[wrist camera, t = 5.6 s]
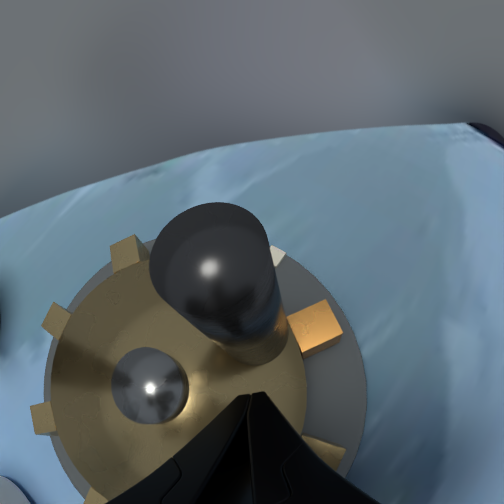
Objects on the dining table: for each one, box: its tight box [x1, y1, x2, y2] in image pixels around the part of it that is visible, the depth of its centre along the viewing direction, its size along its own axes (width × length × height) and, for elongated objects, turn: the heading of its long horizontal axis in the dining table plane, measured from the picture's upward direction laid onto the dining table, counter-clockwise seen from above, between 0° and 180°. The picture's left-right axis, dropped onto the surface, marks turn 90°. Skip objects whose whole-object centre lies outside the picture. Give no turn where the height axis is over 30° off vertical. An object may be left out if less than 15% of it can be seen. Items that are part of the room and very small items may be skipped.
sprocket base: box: [44, 239, 367, 499], centre depth 16 cm, size 20×20×1 cm
